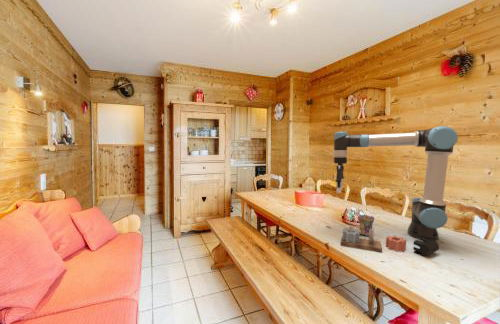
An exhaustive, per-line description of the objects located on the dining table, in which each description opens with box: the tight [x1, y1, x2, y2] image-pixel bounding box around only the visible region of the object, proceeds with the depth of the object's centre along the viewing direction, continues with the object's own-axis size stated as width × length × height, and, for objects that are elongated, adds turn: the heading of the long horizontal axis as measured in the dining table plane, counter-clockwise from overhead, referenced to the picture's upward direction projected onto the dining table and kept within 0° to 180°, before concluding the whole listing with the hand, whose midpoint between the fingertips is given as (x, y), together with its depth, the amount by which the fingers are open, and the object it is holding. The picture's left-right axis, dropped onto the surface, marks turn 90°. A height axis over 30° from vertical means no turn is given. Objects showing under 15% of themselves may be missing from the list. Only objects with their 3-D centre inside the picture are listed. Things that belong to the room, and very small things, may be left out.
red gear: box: [385, 235, 407, 252], centre depth 125 cm, size 9×9×5 cm
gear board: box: [340, 225, 383, 253], centre depth 129 cm, size 20×10×10 cm, turn 65°
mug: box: [357, 214, 376, 237], centre depth 146 cm, size 12×9×11 cm
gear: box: [341, 227, 361, 243], centre depth 131 cm, size 9×9×5 cm
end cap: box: [412, 238, 440, 257], centre depth 119 cm, size 10×7×7 cm
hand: (339, 190), depth 147 cm, fingers open, 13 cm apart
